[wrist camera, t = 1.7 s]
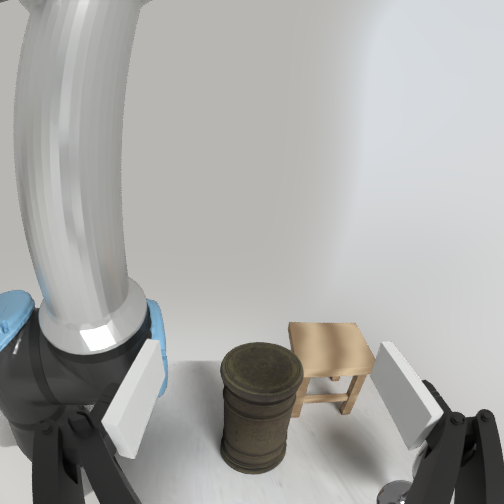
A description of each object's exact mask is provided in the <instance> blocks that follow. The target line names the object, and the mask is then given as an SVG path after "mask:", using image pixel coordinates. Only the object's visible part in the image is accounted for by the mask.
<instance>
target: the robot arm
mask: <svg viewBox="0 0 504 504" xmlns="http://www.w3.org/2000/svg"><path fill="white" fill-rule="evenodd" d="M4 1H7V0H0V2H4ZM19 1H20V3H21V4H22V5H23V6H24V7H25V8H26V9H27V10H28V11H29V13H30V16H29V20H28V23H27V27H26V31H25V35H24V40H23V44H22V49H21V54H20V60H19V66H18V73H17V81H16V90H15V103H14V159H15V172H16V181H17V190H18V197H19V204H20V210H21V216H22V221H23V226H24V231H25V235H26V240H27V244H28V248H29V252H30V255H31V259H32V263H33V266H34V269H35V273H36V276H37V279H38V282H39V285H40V288H41V291H42V294H43V297H44V299H43V301H42V303H41V306H40V308H35V303H34V300H33V299H32V297H31V295H30V294H29V293H27V292H25V291H23V290H14V291H8V292H5V293H2V294H0V410H1V411H2V412H3V414H4V415H5V416H6V418H7V419H8V421H9V424H10V426H11V429H12V432H13V434H14V437H15V439H16V442H17V444H18V446H19V448H20V449H21V451H22V452H23V453H24V454H25V455H26V456H27V458H29V460H30V461H31V462H32V492H33V504H85V499H84V493H83V486H82V479H81V470H80V467H81V466H84V469H85V471H86V474H87V476H88V478H89V481H90V483H91V485H92V488H93V490H94V492H95V494H96V496H97V498H98V500H99V502H100V504H142V503H141V502H140V500H139V499H138V497H137V495H136V494H135V492H134V490H133V489H132V487H131V485H130V484H129V482H128V480H127V478H126V477H125V475H124V473H123V471H122V469H121V468H120V466H119V464H118V462H117V460H116V458H115V456H114V455H115V452H116V450H117V451H118V453H119V455H120V456H123V457H127V458H131V459H135V457H136V454H137V452H138V449H139V446H140V443H141V440H142V437H143V435H144V432H145V429H146V426H147V423H148V421H149V418H150V415H151V412H152V410H153V407H154V404H155V402H156V399H157V398H158V397H160V396H161V395H163V393H164V392H165V390H166V387H167V379H168V365H167V356H166V339H165V332H164V324H163V319H162V314H161V310H160V307H159V305H158V303H157V302H156V301H154V300H149V299H147V298H146V296H145V294H144V292H143V290H142V288H141V287H140V286H139V284H138V283H137V282H135V281H134V280H133V279H131V278H130V277H128V273H127V265H126V256H125V247H124V234H123V219H122V197H121V146H122V126H123V111H124V101H125V91H126V83H127V75H128V68H129V61H130V55H131V50H132V45H133V39H134V34H135V30H136V25H137V21H138V17H139V13H140V9H141V7H142V6H143V5H145V4H146V3H148V2H150V1H152V0H19ZM370 377H371V379H372V381H373V383H374V384H375V386H376V388H377V390H378V392H379V394H380V396H381V397H382V399H383V401H384V403H385V405H386V407H387V409H388V411H389V413H390V415H391V416H392V418H393V420H394V422H395V424H396V426H397V428H398V430H399V432H400V434H401V436H402V438H403V440H404V442H405V444H406V446H407V448H408V450H412V449H414V448H417V447H420V446H421V445H422V443H423V442H424V441H425V440H426V442H427V445H426V447H425V448H424V449H423V450H422V452H421V453H420V454H419V456H421V455H422V454H423V455H422V458H421V461H420V464H419V467H418V470H417V472H416V475H415V478H414V480H413V483H412V485H411V488H410V490H409V492H408V495H407V497H406V499H405V501H404V503H403V504H450V502H451V499H452V495H453V492H454V488H455V498H454V504H504V461H503V455H502V449H501V443H500V438H499V434H498V430H497V425H496V422H495V417H494V415H493V413H492V412H491V411H489V410H486V409H482V410H480V411H479V412H478V413H477V414H476V416H475V417H465V416H464V415H463V414H461V413H459V412H452V411H451V409H450V408H449V407H448V405H447V404H446V403H445V401H444V400H443V398H442V397H441V396H440V394H439V393H438V392H437V391H436V389H435V388H434V386H433V385H432V384H431V383H429V382H428V381H426V380H422V381H421V380H420V378H419V377H418V375H417V374H416V373H415V371H414V370H413V369H412V367H411V366H410V365H409V364H408V362H407V361H406V360H405V358H404V357H403V356H402V354H401V353H400V352H399V350H398V349H397V348H396V346H395V345H394V344H393V343H392V341H388V342H381V344H380V347H379V351H378V354H377V357H376V360H375V363H374V366H373V369H372V372H371V374H370ZM83 405H94V407H93V409H92V411H91V412H90V413H89V412H88V410H87V409H86V408H85V407H84V406H83Z"/></svg>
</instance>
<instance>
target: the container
mask: <svg viewBox="0 0 504 504" xmlns="http://www.w3.org/2000/svg"><path fill="white" fill-rule="evenodd" d="M220 373H221V377H222V380H223V383H224V389H223V398H224V429H223V437H222V440H221V455H222V457H223V459H224V461H225V462H226V463H227V464H228V465H229V466H230V467H231V468H233V469H234V470H236V471H239V472H242V473H245V474H261V473H265V472H268V471H270V470H272V469H274V468H275V467H276V466H278V465H279V464H280V462H281V461H282V460H283V458H284V456H285V453H286V446H287V444H286V440H287V429H288V425H289V421H290V418H291V414H292V410H293V406H294V404H295V401H296V392H297V390H298V388H299V387H300V385H301V383H302V381H303V377H304V370H303V366H302V363H301V361H300V359H299V358H298V357H297V356H296V355H295V354H294V353H293V352H292V351H290V350H288V349H286V348H284V347H282V346H279V345H276V344H271V343H264V342H256V343H248V344H243V345H240V346H238V347H235V348H234V349H232V350H231V351H230V352H228V353H227V354H226V356H225V357H224V359H223V361H222V363H221V368H220Z"/></svg>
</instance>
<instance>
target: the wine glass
mask: <svg viewBox="0 0 504 504" xmlns="http://www.w3.org/2000/svg"><path fill="white" fill-rule="evenodd" d="M426 445H427V442H426V440H425V441H424V443H423V444H422V446H421V448H420V449H419V451H418V453H417V455H416V457H415V460H414V463H413V466H412V475H413V479H414V478H415V475H416V472H417V470H418V467H419V464H420V461H421V458H422V455H423V454H422V455H421V456H419V454H420V453H421V452H422V450H423V449H424V448H425V447H426ZM411 485H412V483H411V482H409V481H405V480H399V481H394V482H391V483H389V484H387V485H386V486H385V487H383V489H382V490H381V491H380V493H379V495H378V498H377V504H403V503H404V501H405V499H406V497H407V495H408V492H409V490H410V488H411Z"/></svg>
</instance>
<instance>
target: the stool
mask: <svg viewBox="0 0 504 504" xmlns="http://www.w3.org/2000/svg"><path fill="white" fill-rule="evenodd" d="M288 332H289V339H290V344H291V351H292V352H293V353H294V354H295V355H296V356H297V357H298V358H299V359H300V361H301V363H302V366H303V370H304V377H303V381H302V383H301V385H300V387H299V388H298V390H297V392H296V401H295V404H294V406H293V410H292V414H291V417H299V415H300V412H301V408H302V405H303V403H318V402H336V401H343V403H342V406H341V408H340V410H341V414H342V415H345V414H350V412H351V410H352V408H353V405H354V403H355V401H356V399H357V397H358V394H359V392H360V390H361V387H362V385H363V383H364V380H365V378H366V375H367V374H371V372H372V369H373V366H374V363H375V358H374V356H373V354H372V352H371V350H370V349H369V346H368V345H367V343H366V341H365V339H364V337H363V335H362V334H361V332H360V330H359V328H358V327H357V325H356V323H301V322H289V327H288ZM352 375H354V376H353V378H352V381H351V384H350V386H349V389H348V391H347V393H344V394H328V395H305V394H306V391H307V387H308V383H309V380H310V377H331V379H332V381H339V379H340V376H352Z"/></svg>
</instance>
